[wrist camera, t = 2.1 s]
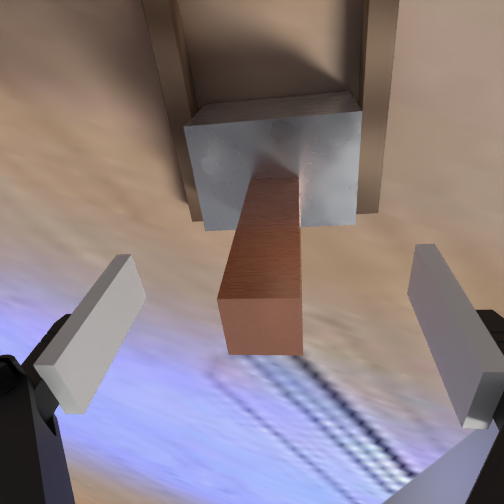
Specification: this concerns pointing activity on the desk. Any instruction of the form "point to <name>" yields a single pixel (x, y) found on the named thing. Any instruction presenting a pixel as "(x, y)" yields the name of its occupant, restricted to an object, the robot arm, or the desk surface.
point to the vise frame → (370, 99)
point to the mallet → (272, 202)
